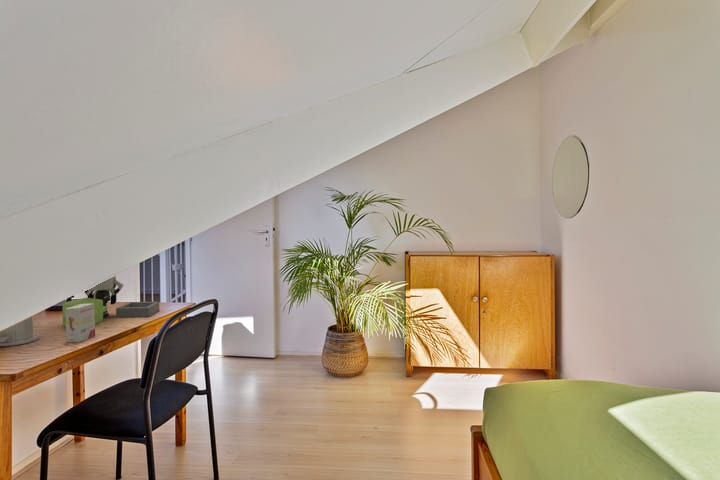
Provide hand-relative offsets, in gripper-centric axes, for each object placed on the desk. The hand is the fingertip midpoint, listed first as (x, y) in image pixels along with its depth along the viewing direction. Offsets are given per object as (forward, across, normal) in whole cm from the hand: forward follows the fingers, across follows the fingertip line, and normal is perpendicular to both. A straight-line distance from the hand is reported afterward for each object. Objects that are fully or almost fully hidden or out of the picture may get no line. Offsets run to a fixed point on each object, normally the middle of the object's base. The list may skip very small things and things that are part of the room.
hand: (102, 303), depth 173 cm
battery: (+6, 0, 0) cm, 6 cm away
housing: (+5, +13, +4) cm, 15 cm away
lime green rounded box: (+6, -1, -13) cm, 14 cm away
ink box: (+6, +8, -33) cm, 34 cm away
